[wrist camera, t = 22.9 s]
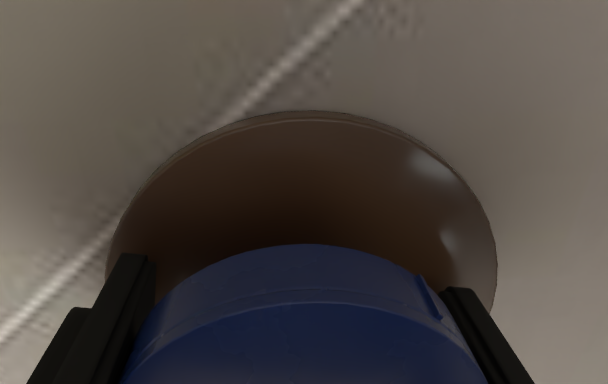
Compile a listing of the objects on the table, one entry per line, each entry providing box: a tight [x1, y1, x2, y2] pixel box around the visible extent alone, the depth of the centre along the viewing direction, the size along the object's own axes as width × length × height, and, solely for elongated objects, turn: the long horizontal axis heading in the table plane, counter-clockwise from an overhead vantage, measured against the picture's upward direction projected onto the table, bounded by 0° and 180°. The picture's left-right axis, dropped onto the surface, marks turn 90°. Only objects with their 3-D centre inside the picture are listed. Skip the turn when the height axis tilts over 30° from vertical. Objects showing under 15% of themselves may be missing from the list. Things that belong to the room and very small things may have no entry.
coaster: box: [104, 111, 498, 314], centre depth 12 cm, size 10×10×1 cm
